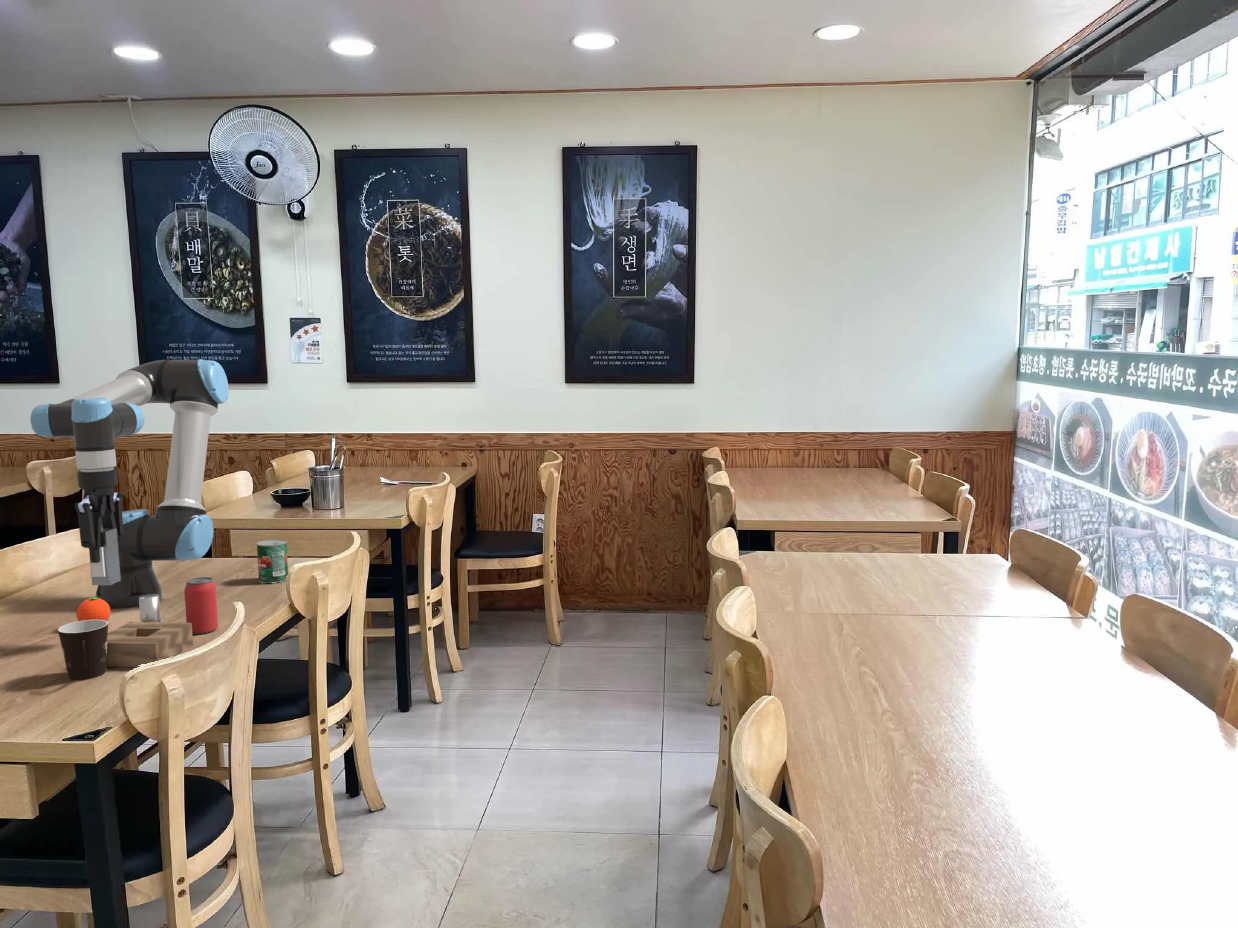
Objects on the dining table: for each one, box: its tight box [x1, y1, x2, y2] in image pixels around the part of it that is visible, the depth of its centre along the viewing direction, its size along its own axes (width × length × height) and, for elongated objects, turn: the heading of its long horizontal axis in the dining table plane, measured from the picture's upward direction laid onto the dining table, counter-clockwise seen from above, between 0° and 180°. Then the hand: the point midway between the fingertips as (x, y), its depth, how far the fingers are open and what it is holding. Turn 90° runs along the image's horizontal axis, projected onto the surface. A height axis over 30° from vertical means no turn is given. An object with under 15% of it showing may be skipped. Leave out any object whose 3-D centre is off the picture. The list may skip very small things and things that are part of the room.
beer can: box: [184, 576, 219, 635], centre depth 206 cm, size 7×7×12 cm
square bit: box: [88, 528, 121, 586], centre depth 197 cm, size 4×4×12 cm
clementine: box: [76, 597, 111, 622], centre depth 209 cm, size 8×7×7 cm
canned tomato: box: [256, 538, 289, 583], centre depth 251 cm, size 8×8×11 cm
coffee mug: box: [57, 620, 109, 681], centre depth 177 cm, size 12×9×10 cm
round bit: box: [138, 594, 162, 622], centre depth 199 cm, size 4×4×10 cm
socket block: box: [106, 621, 194, 668], centre depth 190 cm, size 14×14×5 cm
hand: (105, 573), depth 198 cm, fingers closed on square bit, 4 cm apart
